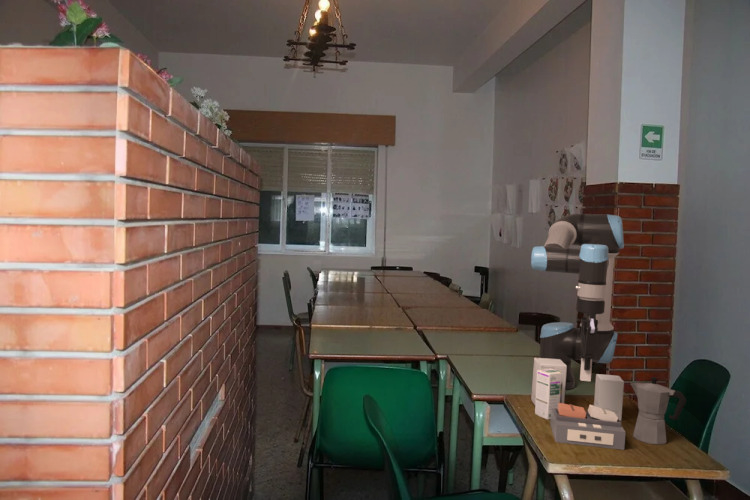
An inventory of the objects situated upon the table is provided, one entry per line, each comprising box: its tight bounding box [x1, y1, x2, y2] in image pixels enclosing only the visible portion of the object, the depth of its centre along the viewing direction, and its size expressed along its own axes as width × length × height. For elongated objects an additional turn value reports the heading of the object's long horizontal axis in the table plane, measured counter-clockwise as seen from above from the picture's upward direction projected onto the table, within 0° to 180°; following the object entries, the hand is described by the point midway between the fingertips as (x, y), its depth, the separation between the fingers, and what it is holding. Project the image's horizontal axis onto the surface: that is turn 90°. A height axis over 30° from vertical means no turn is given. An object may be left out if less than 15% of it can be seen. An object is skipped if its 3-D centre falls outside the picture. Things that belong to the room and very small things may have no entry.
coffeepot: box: [629, 376, 687, 445], centre depth 165 cm, size 15×9×18 cm, turn 43°
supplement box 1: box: [530, 357, 567, 406], centre depth 193 cm, size 9×9×15 cm
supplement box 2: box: [593, 373, 625, 422], centre depth 184 cm, size 7×7×13 cm
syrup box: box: [534, 368, 563, 421], centre depth 182 cm, size 6×6×14 cm
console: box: [549, 408, 626, 451], centre depth 166 cm, size 14×18×6 cm
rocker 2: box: [587, 404, 618, 422], centre depth 165 cm, size 5×7×2 cm
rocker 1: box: [557, 403, 587, 418], centre depth 166 cm, size 5×7×2 cm
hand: (585, 380), depth 165 cm, fingers closed
